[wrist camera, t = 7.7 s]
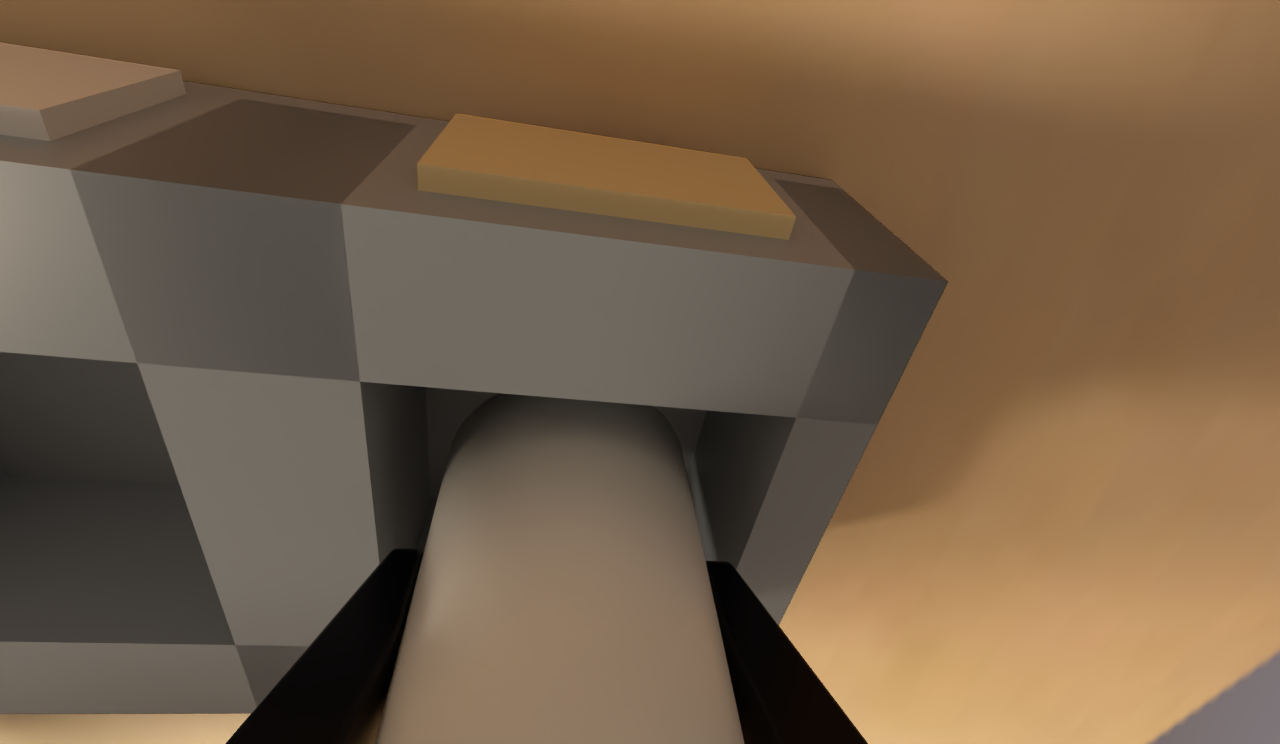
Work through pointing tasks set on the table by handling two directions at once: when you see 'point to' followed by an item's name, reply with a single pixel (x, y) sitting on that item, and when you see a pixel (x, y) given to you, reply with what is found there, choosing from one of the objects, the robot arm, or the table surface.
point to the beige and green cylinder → (562, 589)
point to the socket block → (376, 356)
